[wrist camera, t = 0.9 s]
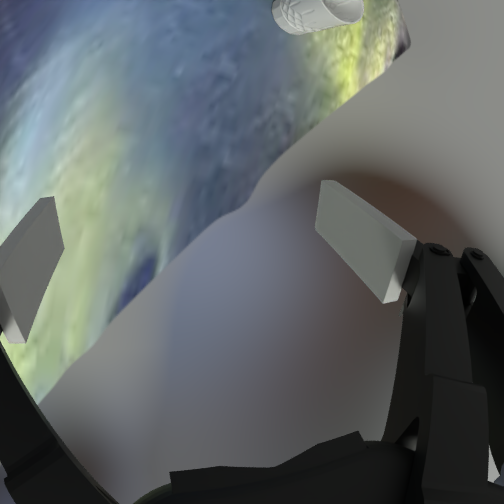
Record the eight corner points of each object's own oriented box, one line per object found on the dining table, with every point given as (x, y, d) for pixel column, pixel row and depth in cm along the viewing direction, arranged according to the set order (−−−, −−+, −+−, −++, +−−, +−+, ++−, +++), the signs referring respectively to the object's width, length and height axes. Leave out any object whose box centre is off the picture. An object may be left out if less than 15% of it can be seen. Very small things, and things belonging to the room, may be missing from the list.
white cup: (271, -16, 32) (318, -42, 24) (315, 4, 36) (365, -13, 28) (263, 28, 34) (313, 6, 26) (310, 46, 38) (362, 33, 30)
